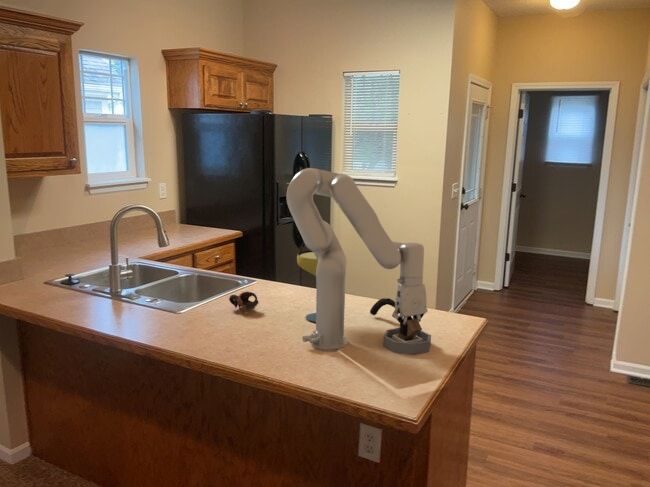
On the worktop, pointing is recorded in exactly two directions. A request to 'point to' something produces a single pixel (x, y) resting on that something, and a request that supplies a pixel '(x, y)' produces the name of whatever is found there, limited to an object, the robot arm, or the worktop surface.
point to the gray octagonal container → (407, 342)
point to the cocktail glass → (308, 270)
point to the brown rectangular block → (410, 330)
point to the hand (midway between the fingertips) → (409, 333)
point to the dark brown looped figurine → (244, 301)
